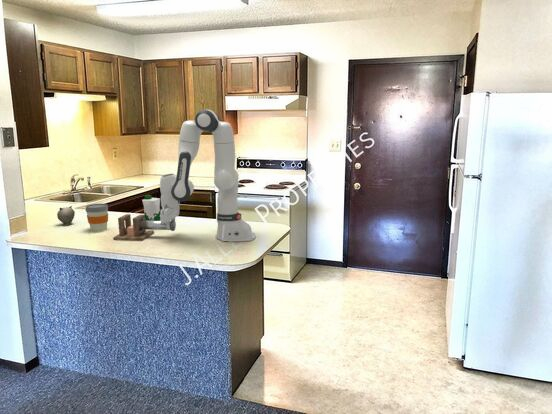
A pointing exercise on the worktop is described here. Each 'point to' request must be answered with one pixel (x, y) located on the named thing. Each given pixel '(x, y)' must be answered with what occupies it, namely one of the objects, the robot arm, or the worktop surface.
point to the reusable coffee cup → (97, 216)
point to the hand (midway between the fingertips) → (170, 227)
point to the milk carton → (151, 208)
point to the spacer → (130, 231)
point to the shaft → (156, 225)
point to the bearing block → (138, 233)
